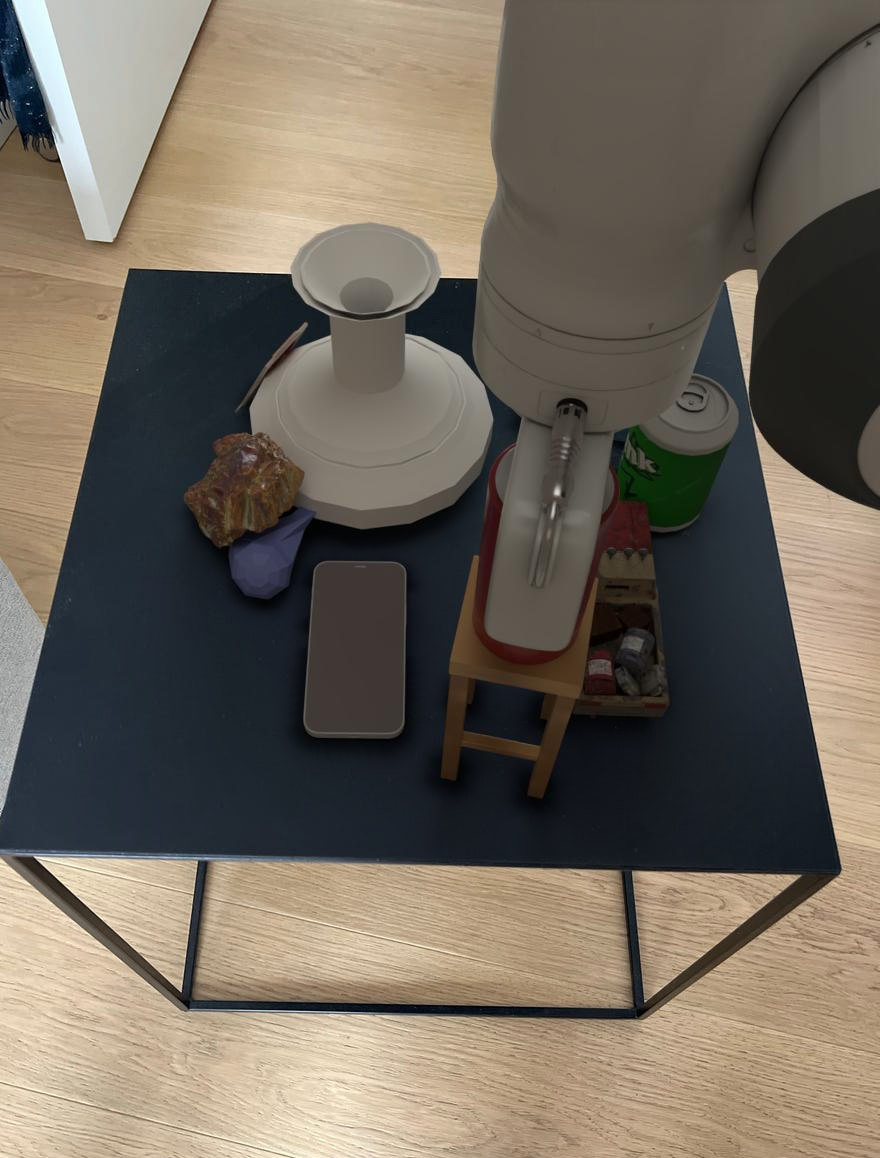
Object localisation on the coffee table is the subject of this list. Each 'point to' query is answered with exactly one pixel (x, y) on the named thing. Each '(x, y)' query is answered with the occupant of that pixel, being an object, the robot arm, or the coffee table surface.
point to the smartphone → (356, 651)
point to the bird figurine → (268, 555)
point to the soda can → (679, 455)
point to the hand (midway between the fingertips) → (543, 534)
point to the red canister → (487, 550)
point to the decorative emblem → (273, 363)
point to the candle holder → (373, 387)
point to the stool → (552, 678)
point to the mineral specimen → (244, 488)
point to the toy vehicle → (626, 626)
